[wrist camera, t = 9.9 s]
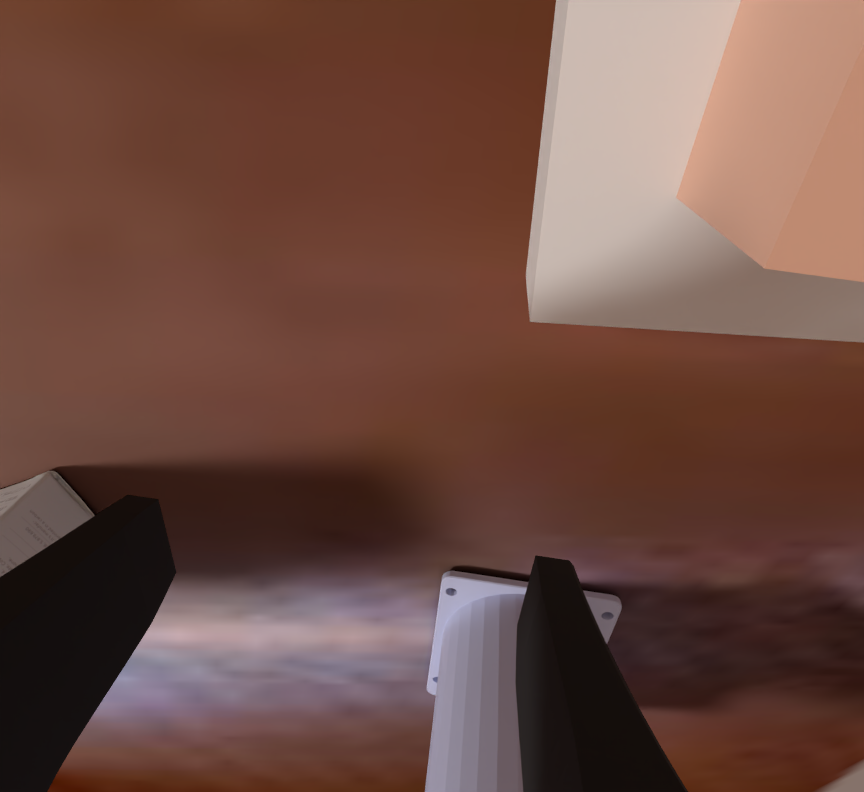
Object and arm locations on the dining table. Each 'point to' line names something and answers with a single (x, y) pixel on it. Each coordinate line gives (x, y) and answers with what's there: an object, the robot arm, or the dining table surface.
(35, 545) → the skincare box
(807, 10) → the terracotta block
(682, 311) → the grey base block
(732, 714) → the dining table surface
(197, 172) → the dining table surface
